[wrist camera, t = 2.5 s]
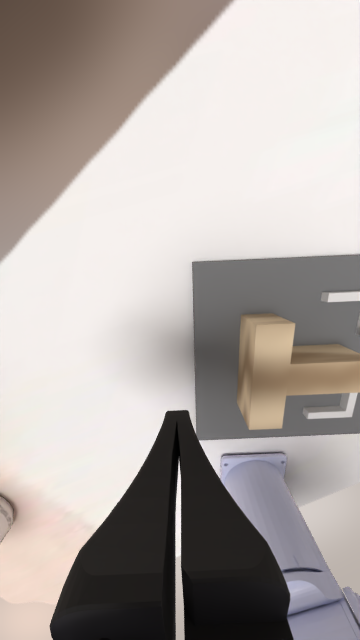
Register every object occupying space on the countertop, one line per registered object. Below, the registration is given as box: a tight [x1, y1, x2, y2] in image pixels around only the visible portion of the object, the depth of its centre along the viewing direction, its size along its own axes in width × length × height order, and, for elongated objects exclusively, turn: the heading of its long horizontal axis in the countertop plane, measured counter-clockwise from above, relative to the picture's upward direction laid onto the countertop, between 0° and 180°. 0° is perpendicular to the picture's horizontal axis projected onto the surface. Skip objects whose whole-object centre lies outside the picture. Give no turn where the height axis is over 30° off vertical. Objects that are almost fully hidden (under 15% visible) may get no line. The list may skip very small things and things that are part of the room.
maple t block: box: [237, 313, 360, 430], centre depth 17 cm, size 10×10×4 cm
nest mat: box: [192, 255, 360, 440], centre depth 18 cm, size 20×24×1 cm
